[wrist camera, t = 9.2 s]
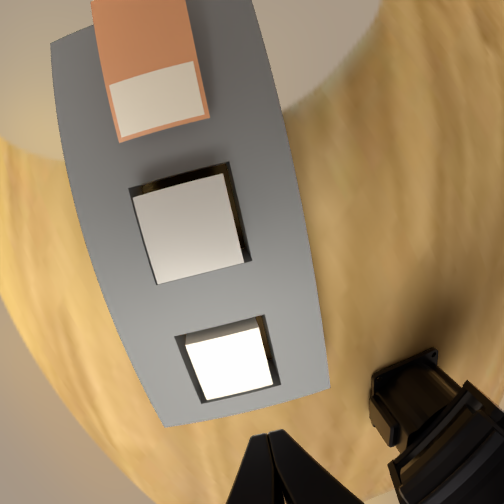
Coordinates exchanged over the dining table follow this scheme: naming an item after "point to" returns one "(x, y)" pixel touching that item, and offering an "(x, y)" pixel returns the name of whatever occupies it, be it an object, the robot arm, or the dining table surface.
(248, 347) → the cream button
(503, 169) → the dining table surface
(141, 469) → the dining table surface
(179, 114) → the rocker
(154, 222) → the grey button
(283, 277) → the panel
